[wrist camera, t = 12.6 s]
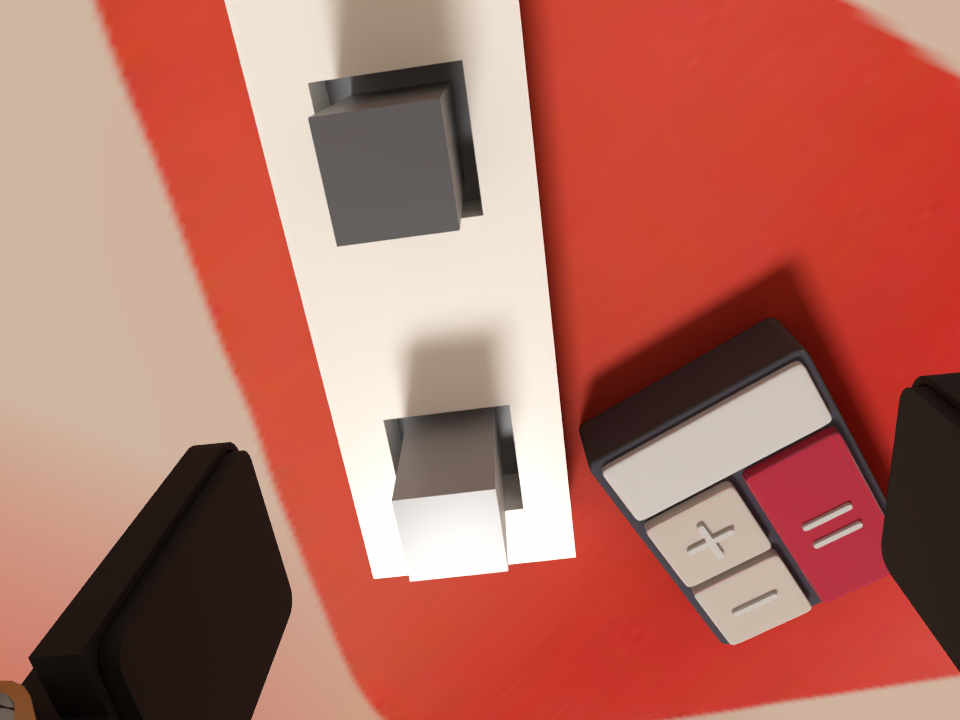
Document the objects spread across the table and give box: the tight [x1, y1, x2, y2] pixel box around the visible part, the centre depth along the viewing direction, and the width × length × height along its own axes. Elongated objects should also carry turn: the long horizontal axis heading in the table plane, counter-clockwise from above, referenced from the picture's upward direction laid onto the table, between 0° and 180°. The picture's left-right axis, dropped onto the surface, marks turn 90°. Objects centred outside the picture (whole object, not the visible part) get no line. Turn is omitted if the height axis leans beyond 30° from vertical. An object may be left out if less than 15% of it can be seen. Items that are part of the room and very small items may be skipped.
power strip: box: [224, 0, 576, 579], centre depth 31 cm, size 10×26×4 cm, turn 8°
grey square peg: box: [392, 407, 508, 582], centre depth 31 cm, size 4×4×8 cm
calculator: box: [579, 318, 890, 645], centre depth 36 cm, size 11×4×15 cm
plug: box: [308, 81, 465, 247], centre depth 26 cm, size 4×4×8 cm
